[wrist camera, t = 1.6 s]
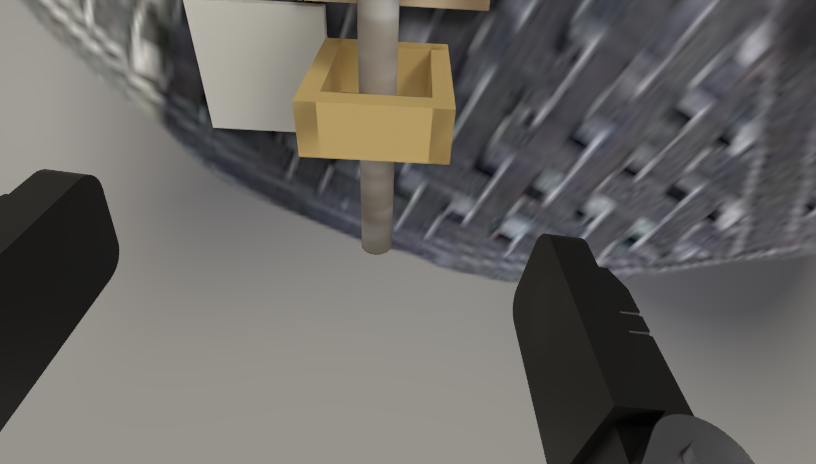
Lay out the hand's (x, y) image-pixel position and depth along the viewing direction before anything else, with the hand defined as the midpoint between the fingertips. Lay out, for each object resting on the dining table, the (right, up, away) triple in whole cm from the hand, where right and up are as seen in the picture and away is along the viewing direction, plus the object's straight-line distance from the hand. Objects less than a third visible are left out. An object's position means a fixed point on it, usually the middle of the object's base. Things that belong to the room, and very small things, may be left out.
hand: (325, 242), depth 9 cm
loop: (0, +9, +16) cm, 19 cm away
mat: (-9, +12, +25) cm, 29 cm away
